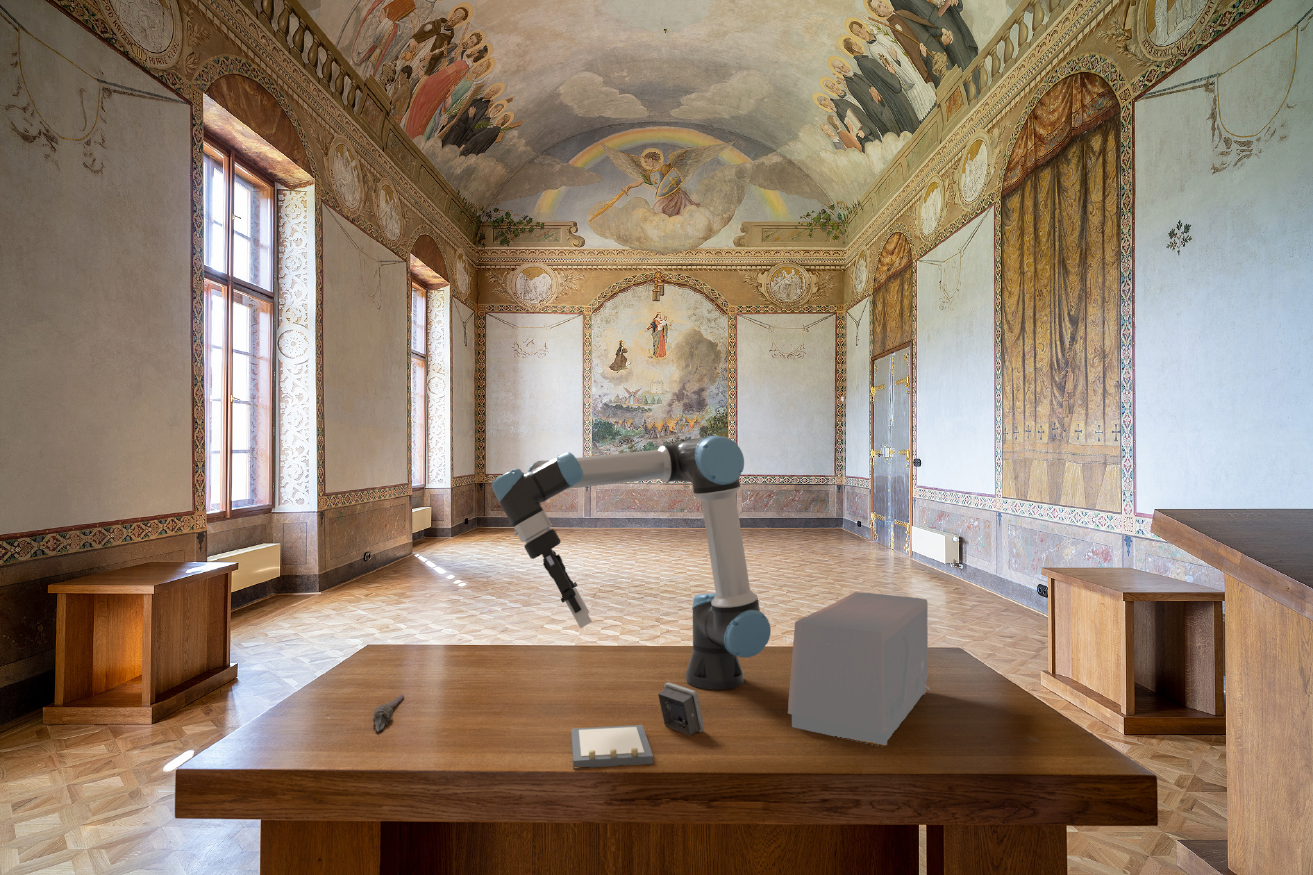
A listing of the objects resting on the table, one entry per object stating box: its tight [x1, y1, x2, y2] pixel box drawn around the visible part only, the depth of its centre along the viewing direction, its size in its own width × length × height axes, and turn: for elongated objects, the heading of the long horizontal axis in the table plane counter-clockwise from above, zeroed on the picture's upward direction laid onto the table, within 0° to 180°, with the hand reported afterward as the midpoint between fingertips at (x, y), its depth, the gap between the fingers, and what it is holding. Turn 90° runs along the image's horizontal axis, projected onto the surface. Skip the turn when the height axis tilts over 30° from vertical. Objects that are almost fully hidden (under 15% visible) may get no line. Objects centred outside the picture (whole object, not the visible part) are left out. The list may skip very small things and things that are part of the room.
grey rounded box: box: [787, 591, 931, 746], centre depth 156 cm, size 45×22×24 cm, turn 145°
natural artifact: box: [372, 694, 405, 733], centre depth 151 cm, size 4×23×4 cm, turn 2°
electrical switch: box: [658, 681, 706, 736], centre depth 143 cm, size 9×5×9 cm, turn 44°
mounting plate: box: [570, 724, 654, 769], centre depth 133 cm, size 15×16×3 cm
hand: (585, 620), depth 146 cm, fingers open, 13 cm apart
